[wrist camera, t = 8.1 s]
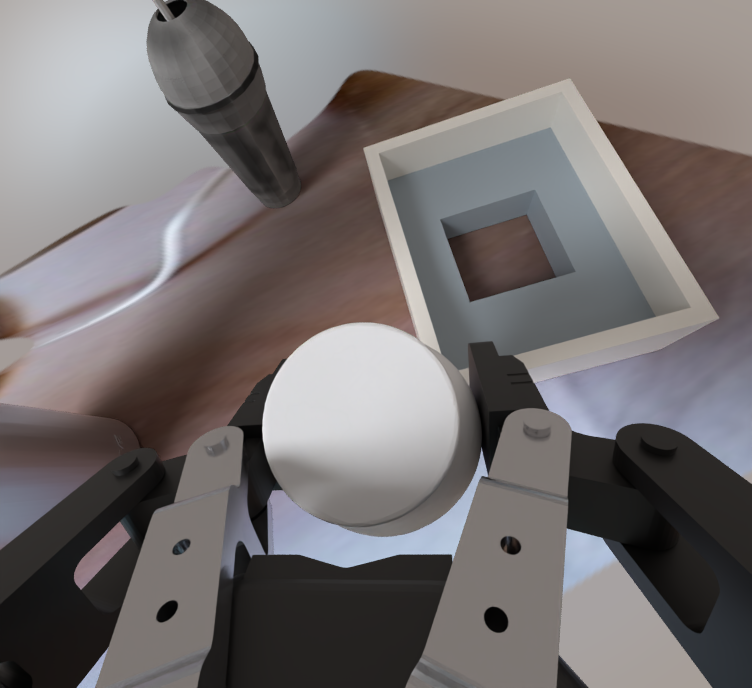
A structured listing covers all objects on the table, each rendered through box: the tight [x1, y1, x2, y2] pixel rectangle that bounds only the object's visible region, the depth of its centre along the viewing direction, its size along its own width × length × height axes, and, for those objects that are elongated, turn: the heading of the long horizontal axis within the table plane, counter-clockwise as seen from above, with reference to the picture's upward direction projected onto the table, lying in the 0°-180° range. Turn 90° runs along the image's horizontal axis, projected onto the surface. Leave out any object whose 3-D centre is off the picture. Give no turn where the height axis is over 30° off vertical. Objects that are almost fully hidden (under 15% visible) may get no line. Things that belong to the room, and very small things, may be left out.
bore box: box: [363, 78, 719, 387], centre depth 27 cm, size 16×20×6 cm
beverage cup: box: [147, 0, 301, 208], centre depth 27 cm, size 7×7×20 cm
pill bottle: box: [262, 322, 482, 537], centre depth 11 cm, size 5×5×9 cm
